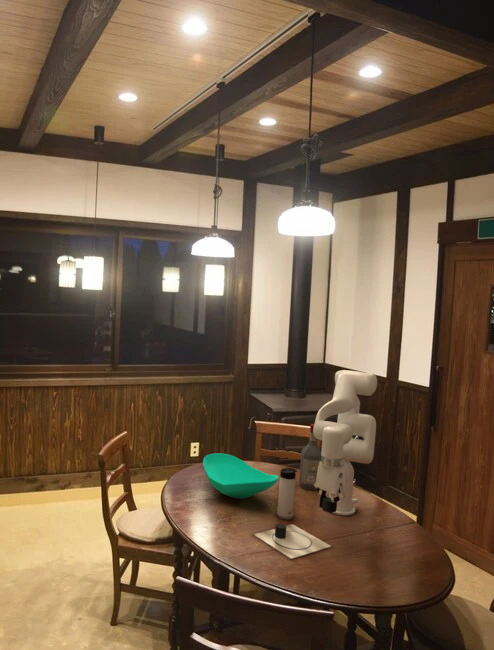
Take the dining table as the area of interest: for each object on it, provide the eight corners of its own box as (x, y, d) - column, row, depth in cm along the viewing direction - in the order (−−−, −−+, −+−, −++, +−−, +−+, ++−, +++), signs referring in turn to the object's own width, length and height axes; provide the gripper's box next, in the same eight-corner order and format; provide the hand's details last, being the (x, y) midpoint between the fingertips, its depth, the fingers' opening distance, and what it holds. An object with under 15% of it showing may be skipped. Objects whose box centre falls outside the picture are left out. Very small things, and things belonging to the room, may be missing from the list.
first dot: (280, 533, 204) (281, 522, 203) (287, 537, 200) (288, 527, 200) (272, 535, 202) (273, 524, 201) (279, 539, 198) (280, 529, 198)
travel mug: (293, 520, 216) (297, 472, 215) (276, 518, 218) (280, 470, 216) (293, 514, 222) (296, 467, 221) (277, 512, 224) (280, 465, 223)
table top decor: (292, 505, 232) (294, 475, 231) (245, 518, 216) (247, 486, 215) (231, 476, 264) (233, 449, 263) (186, 485, 248) (188, 457, 247)
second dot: (327, 506, 201) (327, 496, 201) (335, 510, 198) (336, 500, 198) (319, 508, 199) (320, 498, 199) (328, 512, 196) (329, 502, 195)
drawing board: (292, 524, 213) (292, 523, 213) (331, 547, 196) (331, 545, 196) (253, 535, 202) (253, 533, 202) (291, 559, 185) (291, 558, 185)
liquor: (321, 490, 251) (326, 428, 249) (302, 489, 251) (306, 426, 249) (316, 483, 260) (321, 423, 258) (298, 482, 260) (302, 421, 259)
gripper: (356, 466, 192) (352, 516, 193) (320, 453, 206) (317, 499, 207) (342, 469, 188) (338, 520, 189) (307, 455, 202) (303, 502, 203)
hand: (327, 508), depth 198 cm, fingers closed on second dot, 4 cm apart
